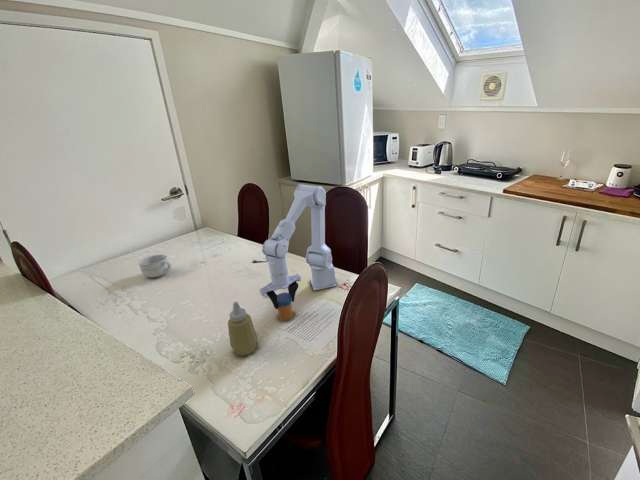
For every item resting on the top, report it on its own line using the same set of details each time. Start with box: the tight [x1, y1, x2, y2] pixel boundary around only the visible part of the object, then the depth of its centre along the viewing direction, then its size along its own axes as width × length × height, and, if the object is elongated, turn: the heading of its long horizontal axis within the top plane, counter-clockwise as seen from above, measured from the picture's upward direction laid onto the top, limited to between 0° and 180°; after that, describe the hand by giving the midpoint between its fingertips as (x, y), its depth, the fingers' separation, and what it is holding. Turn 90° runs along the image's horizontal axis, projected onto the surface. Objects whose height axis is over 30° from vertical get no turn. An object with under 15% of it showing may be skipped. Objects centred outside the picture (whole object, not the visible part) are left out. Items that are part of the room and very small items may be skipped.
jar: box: [277, 302, 294, 322], centre depth 113 cm, size 5×5×8 cm
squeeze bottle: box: [227, 301, 258, 356], centre depth 96 cm, size 8×8×18 cm
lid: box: [277, 292, 293, 307], centre depth 112 cm, size 6×6×2 cm
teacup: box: [137, 254, 172, 279], centre depth 142 cm, size 14×11×8 cm
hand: (284, 304), depth 113 cm, fingers closed on lid, 6 cm apart
